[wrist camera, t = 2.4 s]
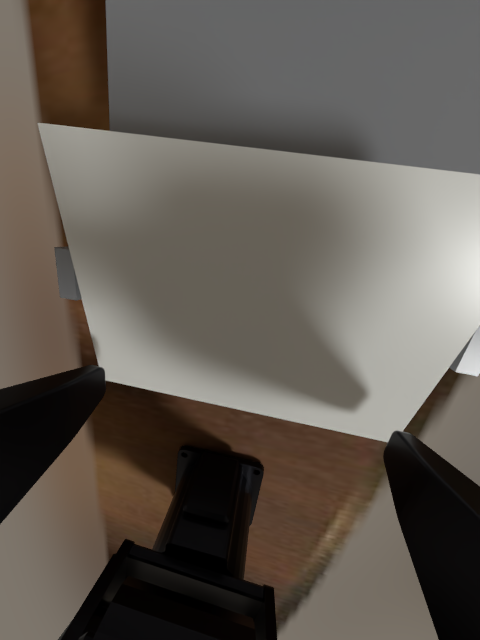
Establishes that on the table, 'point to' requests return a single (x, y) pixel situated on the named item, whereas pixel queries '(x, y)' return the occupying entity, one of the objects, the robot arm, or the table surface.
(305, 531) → the table surface
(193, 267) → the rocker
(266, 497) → the table surface
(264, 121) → the box
